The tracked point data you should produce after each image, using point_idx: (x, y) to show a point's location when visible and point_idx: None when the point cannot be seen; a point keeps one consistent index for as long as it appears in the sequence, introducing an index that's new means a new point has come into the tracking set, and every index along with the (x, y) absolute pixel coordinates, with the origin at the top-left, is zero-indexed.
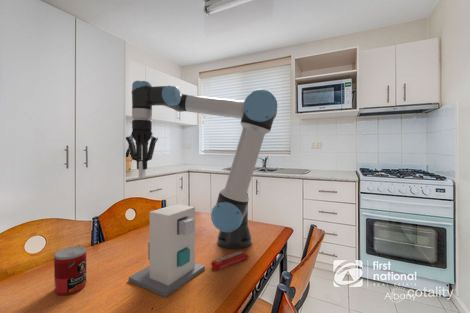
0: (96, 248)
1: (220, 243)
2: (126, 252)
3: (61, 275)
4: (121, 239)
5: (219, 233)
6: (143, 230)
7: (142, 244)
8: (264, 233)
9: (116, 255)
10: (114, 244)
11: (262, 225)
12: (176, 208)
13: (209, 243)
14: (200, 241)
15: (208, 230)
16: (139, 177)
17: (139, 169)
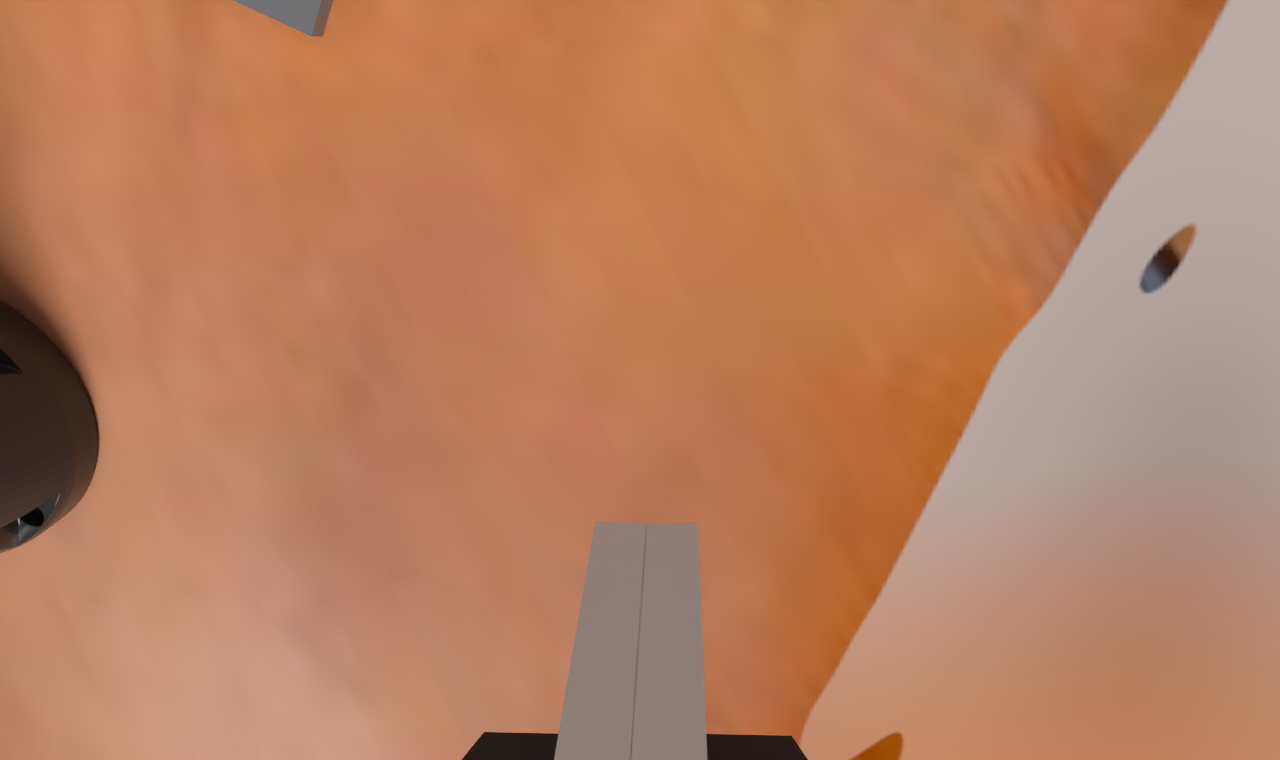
0: (1067, 145)
1: (18, 328)
2: (752, 98)
3: None
4: (934, 360)
5: (2, 405)
6: (829, 571)
7: (693, 277)
8: None
9: (810, 26)
10: (944, 248)
11: None
12: None
13: (142, 361)
14: (232, 392)
15: (266, 620)
16: (674, 524)
17: (673, 686)
